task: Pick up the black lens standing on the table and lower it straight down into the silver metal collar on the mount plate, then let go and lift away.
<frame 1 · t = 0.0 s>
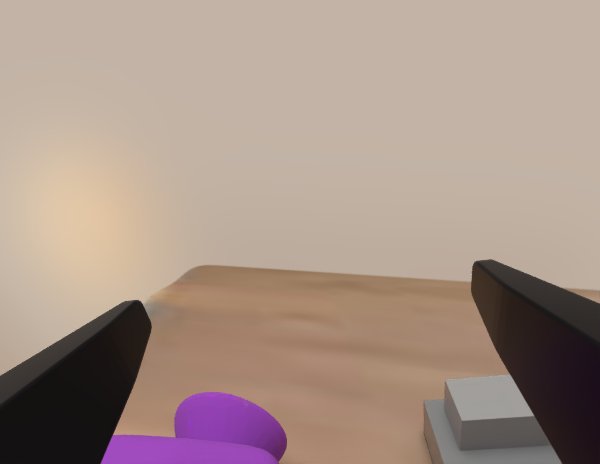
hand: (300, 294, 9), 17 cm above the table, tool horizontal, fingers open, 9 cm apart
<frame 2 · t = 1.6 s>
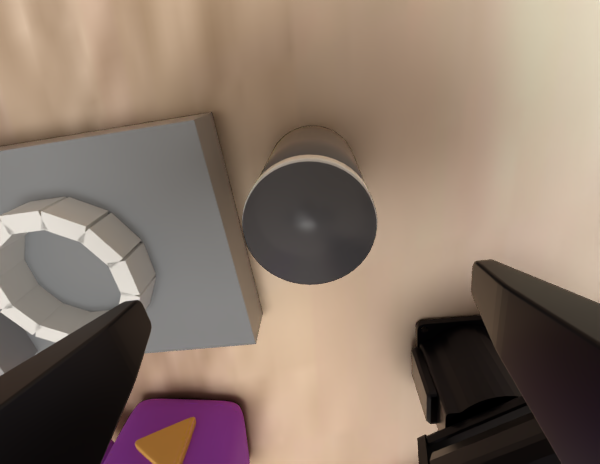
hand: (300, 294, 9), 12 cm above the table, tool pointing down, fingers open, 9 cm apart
mount: (109, 242, 23), on the table
toy camera: (182, 425, 31), on the table
lens: (312, 170, 20), on the table
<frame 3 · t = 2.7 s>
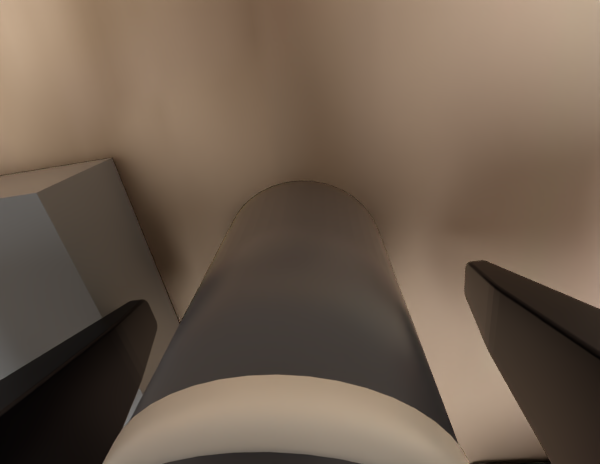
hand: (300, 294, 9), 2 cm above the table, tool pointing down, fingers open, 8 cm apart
lens: (303, 254, 11), on the table
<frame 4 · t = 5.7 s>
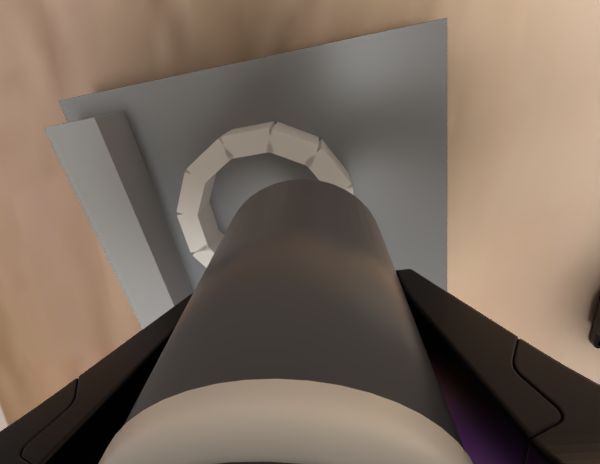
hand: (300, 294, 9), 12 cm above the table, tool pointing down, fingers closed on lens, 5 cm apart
mount: (278, 188, 21), on the table
lens: (303, 254, 11), point 10 cm above the table, touching gripper
when the fingers open (6 cm above the table, at t = 8.1 s): lens stays where it is, resting on mount.
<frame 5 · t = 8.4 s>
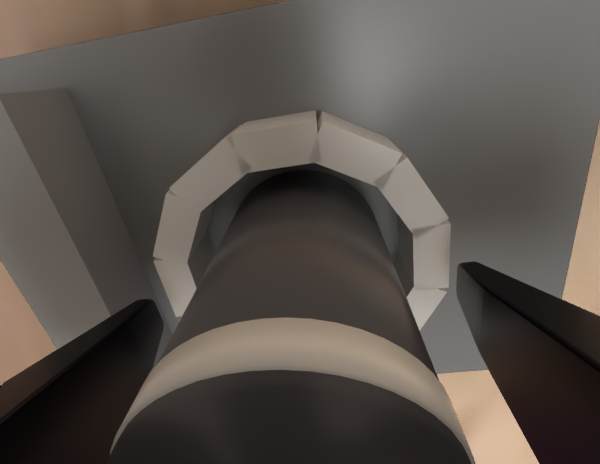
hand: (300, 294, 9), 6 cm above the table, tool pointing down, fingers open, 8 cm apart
mount: (305, 209, 15), on the table
lens: (304, 240, 12), point 3 cm above the table, touching mount
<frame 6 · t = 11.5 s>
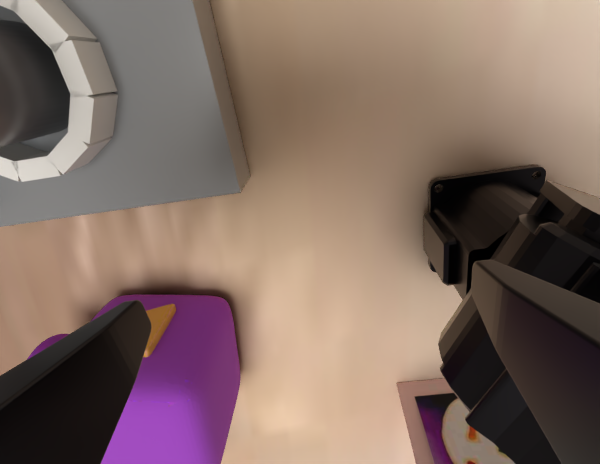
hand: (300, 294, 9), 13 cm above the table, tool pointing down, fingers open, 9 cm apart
mount: (68, 80, 19), on the table
purple printed box: (465, 397, 29), on the table
toy camera: (165, 333, 28), on the table
lens: (28, 81, 17), point 3 cm above the table, touching mount
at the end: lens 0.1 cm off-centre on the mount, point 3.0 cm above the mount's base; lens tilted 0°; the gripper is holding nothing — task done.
